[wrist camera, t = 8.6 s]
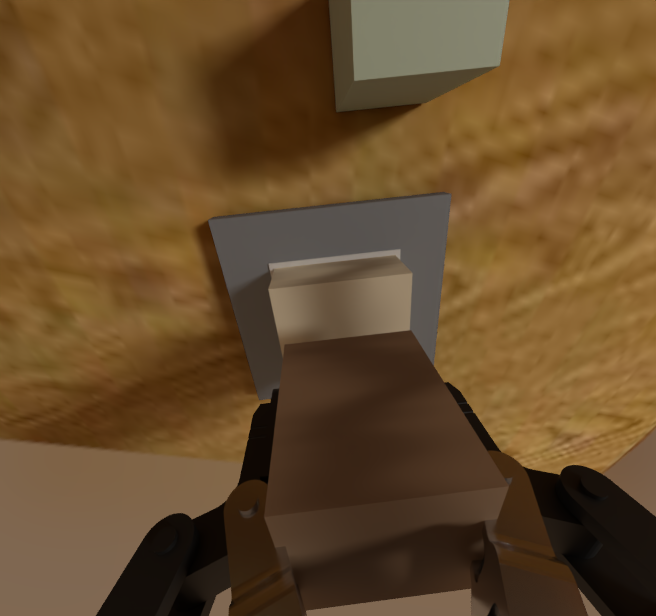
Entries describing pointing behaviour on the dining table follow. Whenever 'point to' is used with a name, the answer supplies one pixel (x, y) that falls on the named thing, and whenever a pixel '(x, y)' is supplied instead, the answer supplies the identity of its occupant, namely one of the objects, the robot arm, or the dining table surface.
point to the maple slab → (341, 299)
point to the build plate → (329, 246)
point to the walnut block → (375, 473)
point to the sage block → (411, 48)
